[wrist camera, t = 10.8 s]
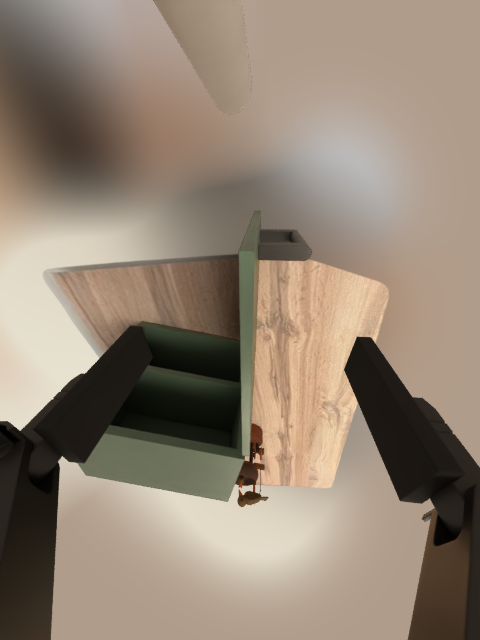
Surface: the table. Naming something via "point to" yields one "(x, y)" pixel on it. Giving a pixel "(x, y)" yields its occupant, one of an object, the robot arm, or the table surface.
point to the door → (251, 251)
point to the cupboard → (178, 418)
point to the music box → (251, 470)
